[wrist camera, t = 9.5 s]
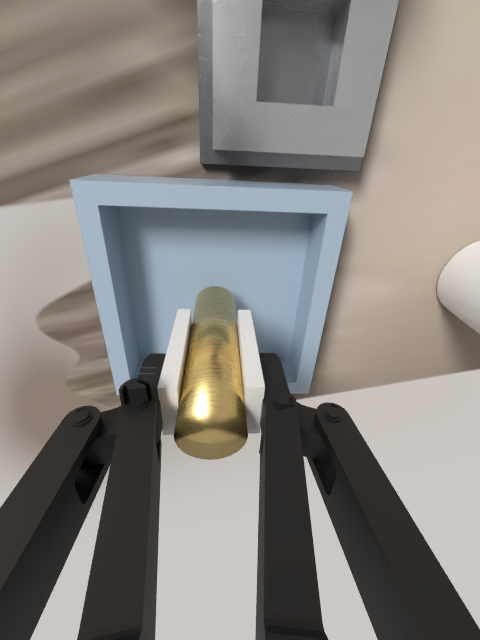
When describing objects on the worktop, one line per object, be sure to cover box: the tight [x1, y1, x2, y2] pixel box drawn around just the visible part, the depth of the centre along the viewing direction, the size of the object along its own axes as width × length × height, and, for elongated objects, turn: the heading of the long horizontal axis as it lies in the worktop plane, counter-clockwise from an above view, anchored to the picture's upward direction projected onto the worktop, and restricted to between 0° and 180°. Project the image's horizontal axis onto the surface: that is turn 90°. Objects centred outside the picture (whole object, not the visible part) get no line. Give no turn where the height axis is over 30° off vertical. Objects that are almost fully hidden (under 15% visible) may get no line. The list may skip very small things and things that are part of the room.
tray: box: [70, 174, 353, 395], centre depth 21 cm, size 15×15×4 cm
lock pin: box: [174, 286, 248, 459], centre depth 16 cm, size 3×3×11 cm
